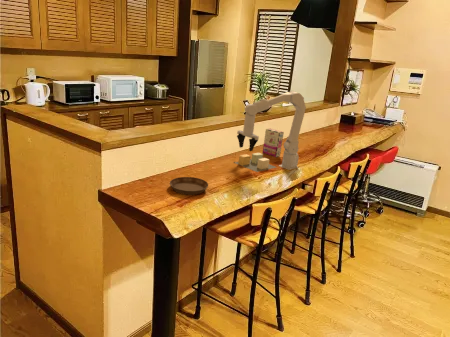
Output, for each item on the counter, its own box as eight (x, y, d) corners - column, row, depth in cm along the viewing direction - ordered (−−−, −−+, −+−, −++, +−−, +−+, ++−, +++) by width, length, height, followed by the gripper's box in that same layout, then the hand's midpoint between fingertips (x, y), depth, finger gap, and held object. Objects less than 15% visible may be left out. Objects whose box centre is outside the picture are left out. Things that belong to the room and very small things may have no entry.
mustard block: (245, 162, 218) (246, 154, 216) (249, 164, 215) (250, 155, 214) (238, 163, 214) (239, 155, 212) (242, 165, 211) (243, 157, 210)
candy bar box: (280, 156, 240) (284, 131, 235) (275, 157, 236) (279, 132, 231) (266, 152, 247) (270, 128, 242) (262, 153, 243) (265, 128, 238)
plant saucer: (161, 188, 168) (161, 182, 167) (186, 179, 182) (186, 173, 181) (191, 200, 159) (192, 193, 158) (215, 189, 173) (215, 183, 172)
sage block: (257, 160, 224) (258, 152, 222) (261, 162, 222) (263, 154, 220) (250, 161, 220) (252, 153, 218) (255, 163, 218) (256, 155, 216)
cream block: (263, 166, 215) (264, 157, 213) (268, 167, 212) (269, 159, 211) (256, 167, 211) (258, 159, 209) (261, 169, 208) (262, 161, 207)
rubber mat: (253, 159, 227) (253, 158, 227) (276, 167, 216) (277, 167, 215) (233, 163, 215) (233, 162, 215) (256, 172, 203) (257, 172, 203)
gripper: (234, 123, 209) (232, 146, 214) (254, 129, 200) (250, 153, 204) (243, 122, 214) (240, 145, 219) (262, 128, 205) (259, 151, 209)
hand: (245, 149), depth 212 cm, fingers open, 7 cm apart
